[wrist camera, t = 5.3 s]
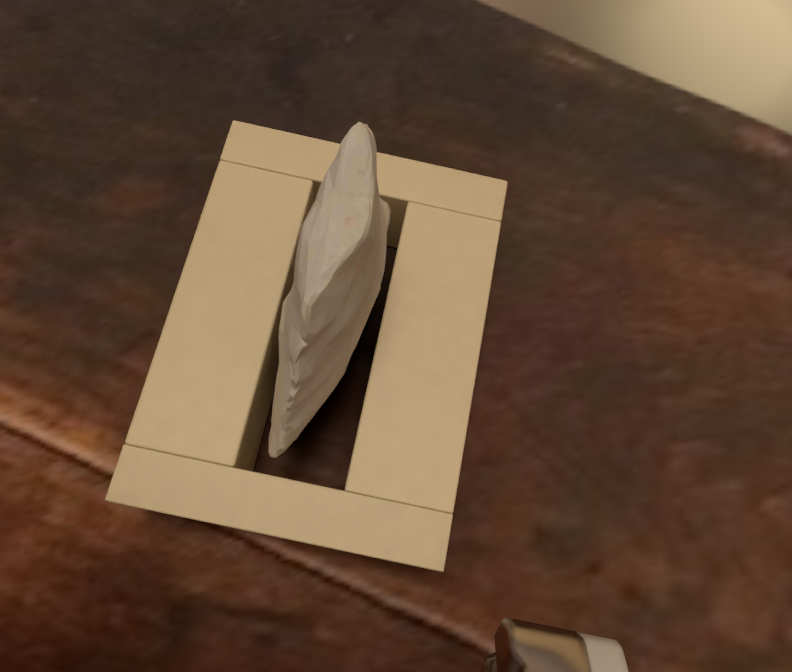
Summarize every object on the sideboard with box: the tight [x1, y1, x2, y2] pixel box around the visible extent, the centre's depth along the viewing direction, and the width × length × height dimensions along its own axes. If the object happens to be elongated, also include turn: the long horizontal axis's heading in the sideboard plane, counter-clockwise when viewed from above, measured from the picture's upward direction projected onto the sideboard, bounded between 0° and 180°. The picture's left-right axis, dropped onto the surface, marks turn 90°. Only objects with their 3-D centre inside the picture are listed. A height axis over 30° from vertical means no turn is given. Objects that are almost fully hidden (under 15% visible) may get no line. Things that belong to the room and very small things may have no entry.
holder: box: [105, 121, 508, 572], centre depth 20 cm, size 9×12×4 cm
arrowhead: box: [268, 122, 390, 458], centre depth 17 cm, size 8×2×10 cm, turn 162°
